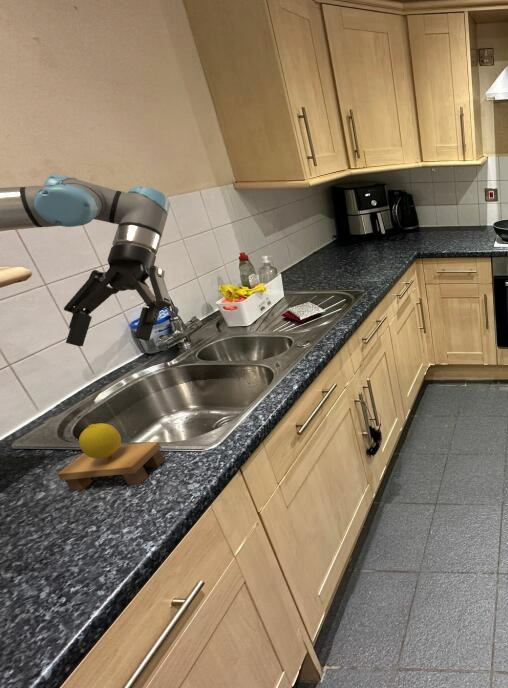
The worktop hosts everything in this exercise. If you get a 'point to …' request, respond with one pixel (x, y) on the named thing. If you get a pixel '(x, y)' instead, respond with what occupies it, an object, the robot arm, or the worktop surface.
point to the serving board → (114, 465)
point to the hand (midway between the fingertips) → (108, 341)
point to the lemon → (99, 440)
